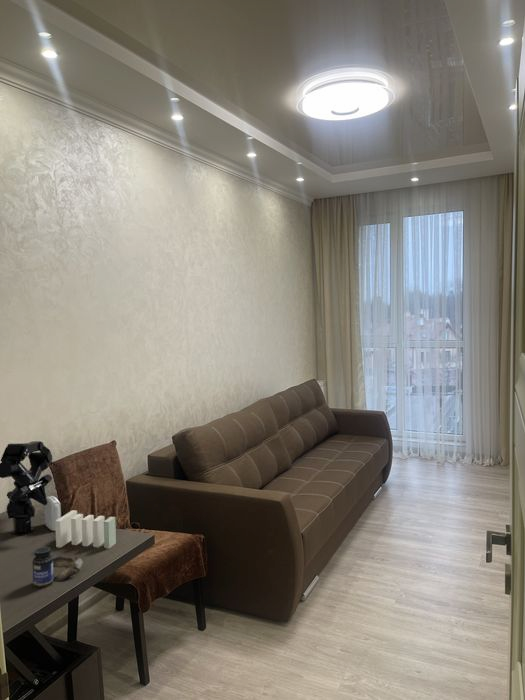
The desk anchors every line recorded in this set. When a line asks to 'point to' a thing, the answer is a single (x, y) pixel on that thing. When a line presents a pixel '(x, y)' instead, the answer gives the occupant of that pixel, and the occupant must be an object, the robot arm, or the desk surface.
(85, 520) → the domino
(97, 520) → the domino
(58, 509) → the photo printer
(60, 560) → the eagle figurine
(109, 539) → the domino
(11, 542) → the desk surface
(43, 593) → the desk surface
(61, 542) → the domino
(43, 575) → the pill bottle
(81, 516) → the domino
